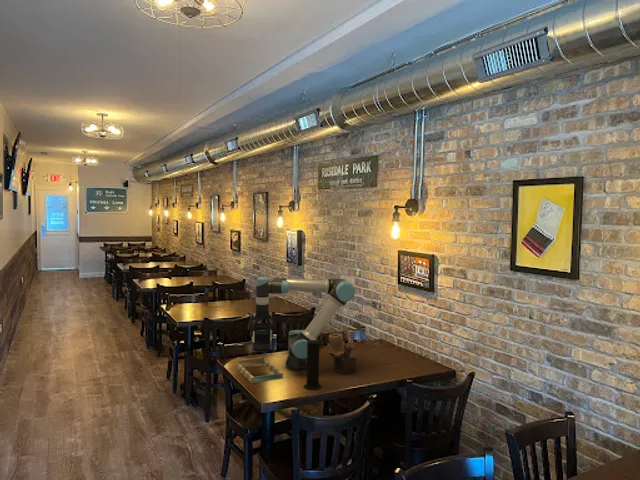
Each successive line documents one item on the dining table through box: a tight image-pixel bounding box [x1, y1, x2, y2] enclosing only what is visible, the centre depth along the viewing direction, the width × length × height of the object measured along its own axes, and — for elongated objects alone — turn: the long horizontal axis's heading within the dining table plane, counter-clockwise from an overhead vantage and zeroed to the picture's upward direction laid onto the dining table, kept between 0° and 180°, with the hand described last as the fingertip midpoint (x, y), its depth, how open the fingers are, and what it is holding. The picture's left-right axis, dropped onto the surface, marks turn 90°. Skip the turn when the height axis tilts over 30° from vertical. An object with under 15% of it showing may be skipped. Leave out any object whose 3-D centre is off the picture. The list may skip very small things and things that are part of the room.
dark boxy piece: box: [332, 344, 357, 376], centre depth 288 cm, size 16×11×18 cm
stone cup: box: [328, 332, 352, 356], centre depth 323 cm, size 15×12×15 cm
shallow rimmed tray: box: [235, 356, 284, 384], centre depth 285 cm, size 29×19×5 cm, turn 28°
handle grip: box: [303, 339, 322, 391], centre depth 263 cm, size 10×26×10 cm
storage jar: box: [252, 322, 271, 353], centre depth 279 cm, size 10×10×15 cm
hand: (261, 341), depth 280 cm, fingers closed on storage jar, 10 cm apart
